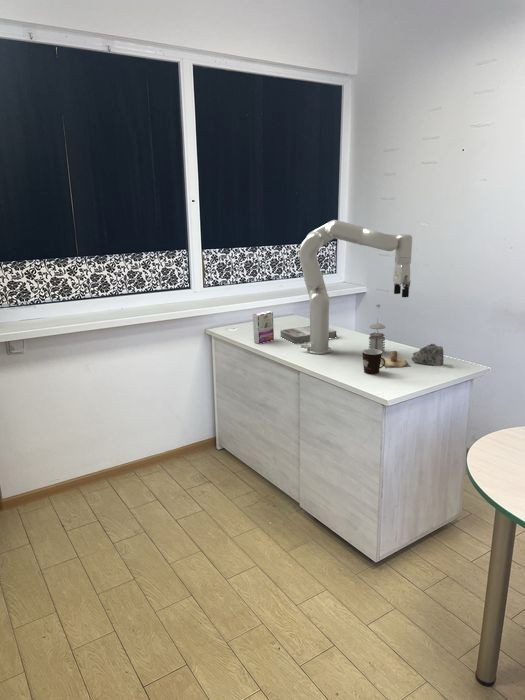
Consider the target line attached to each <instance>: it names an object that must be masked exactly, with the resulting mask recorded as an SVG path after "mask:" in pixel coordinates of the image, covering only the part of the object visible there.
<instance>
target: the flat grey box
mask: <svg viewBox="0 0 525 700" xmlns="http://www.w3.org/2000/svg"><path fill="white" fill-rule="evenodd" d="M281 337H282V339H283V338H284V340H285V339H286V340H285V341H287V340H288V342H289V341H290V343H291V342H292V343H291V344H293V343H294V345H298V344H297V343H300V344H305V343H304V342H306V343H309V342H310V325H309V326H308V325H307V326H301V327H300V326H298V327H294V328H287V329H286V328H285V329H280V338H281ZM335 337H337V338H338V335H337V330H335V329H333V328H330V327H329V338H333V339H336V338H335Z"/></svg>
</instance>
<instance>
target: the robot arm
mask: <svg viewBox="0 0 525 700" xmlns="http://www.w3.org/2000/svg"><path fill="white" fill-rule="evenodd" d="M334 239H336V240H339V241H343V242H348V243H352V244H357V245H360V246H365V247H370V248H374V249H377V250H382V251H386V252H393V251H395V253H394V267H393V277H392V282H393V294H394V295H400V294H401V297H402V298H409V297H410V296H409V295H410V294H409V293H410V286H411V264H412V251H413V250H412V248H413V236H412V235H411V234H407V233H406V234H404V233H402V234H389V233H383V232H380V231H376V230H373V229H370V228H368V227H365V226H362V225H357V224H354V223H351V222H350V223H349V222H345V221H341V220H338V219H332V220H330V221H328V222H327V223H325V224H323V225H321V226H320V227H318V228H315V229H314V230H312V231H310V232H309V233H308V234H307V235H306V237H305V239H304V240H303V241H302V242H301V245H300V248H299V252H298V255H299V256H298V257H299V262H300V266H301V270H302V273H303V279H304V283H305V286H306V289H307V290H306V291H307V293H308V298H309V326H310V342H306V343H300V348H301V349H306V352H307V353H310V354H313V355H326V354H329V353H331V352H332V348H331V347H330V345H329V340H330V339H329V328H330V325H329V323H330V322H329V321H330V319H329V318H330V296H329V293H328V291H327V287H326V283H325V281H324V275H323V272H322V271H321V268H320V264H319V259H318V255H317V254H318V251H319V250H320V249H321V248H322V247H323V245H325V244H327V243H329V242H330V241H332V240H334ZM401 288H402V289H401Z"/></svg>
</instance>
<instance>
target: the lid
mask: <svg viewBox="0 0 525 700" xmlns="http://www.w3.org/2000/svg"><path fill="white" fill-rule="evenodd" d="M382 358H383V359H384V360H385V365H384V366H387V367H399V368H405V367H404V366H406V365H407V364H408V360H406V359H405V358H402V357H398V351H397V350H392V351H390V356H389V357H382ZM383 364H384V361H383V360H382V359H381V364H380V365H381V366H382V365H383ZM384 366H383V367H384Z"/></svg>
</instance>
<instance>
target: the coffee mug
mask: <svg viewBox="0 0 525 700" xmlns="http://www.w3.org/2000/svg"><path fill="white" fill-rule="evenodd" d="M361 353H362V363H363V373H364V374H366V375H377V374H379V373H380V369H383V368H384V365H385V360H384V359H383V358H384V357H383V354H382V351H381V350H377V349H370V348H366V349H363V350H362V351H361ZM381 359H382V360H383V361H384V364H383V365H382V364H380V363H381Z"/></svg>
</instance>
